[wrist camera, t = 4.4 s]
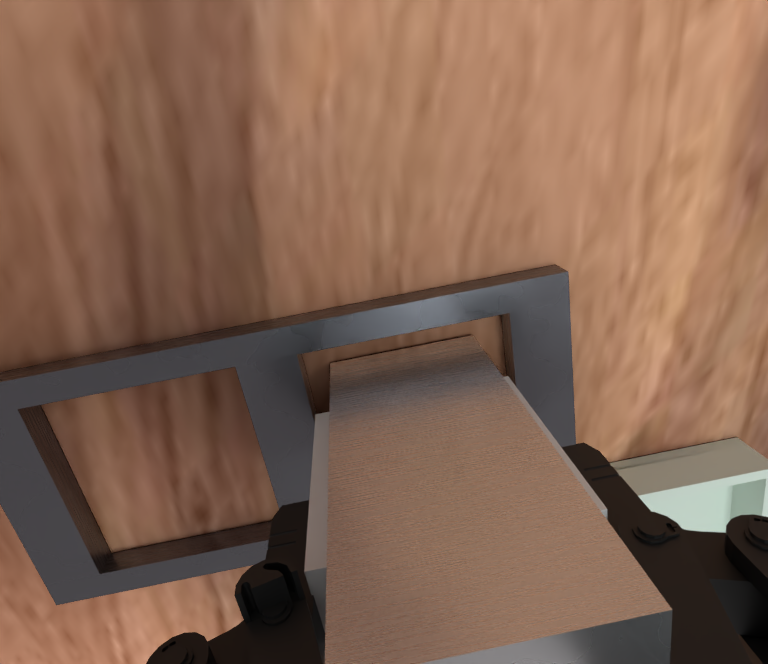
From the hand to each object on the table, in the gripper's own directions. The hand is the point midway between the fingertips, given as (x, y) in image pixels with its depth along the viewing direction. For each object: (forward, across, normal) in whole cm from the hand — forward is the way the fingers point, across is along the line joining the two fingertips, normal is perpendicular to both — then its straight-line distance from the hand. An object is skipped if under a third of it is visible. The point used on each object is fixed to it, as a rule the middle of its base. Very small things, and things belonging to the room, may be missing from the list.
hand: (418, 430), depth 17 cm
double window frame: (+1, -4, 0) cm, 5 cm away
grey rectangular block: (+1, 0, 0) cm, 1 cm away
